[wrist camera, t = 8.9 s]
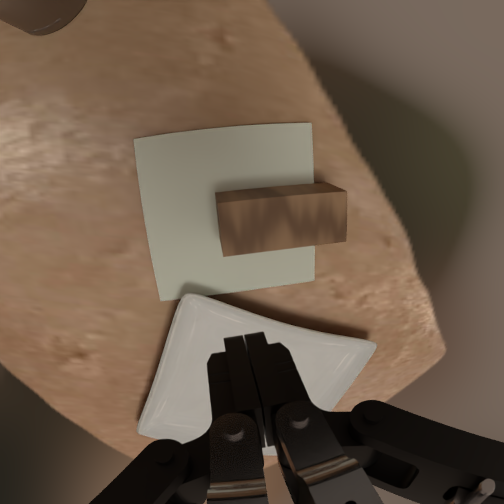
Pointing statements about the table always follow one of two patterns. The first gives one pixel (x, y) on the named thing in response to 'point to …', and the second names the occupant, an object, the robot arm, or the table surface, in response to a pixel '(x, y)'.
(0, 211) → the table surface
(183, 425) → the square plate
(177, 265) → the sage mat
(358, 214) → the table surface
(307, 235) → the walnut block
